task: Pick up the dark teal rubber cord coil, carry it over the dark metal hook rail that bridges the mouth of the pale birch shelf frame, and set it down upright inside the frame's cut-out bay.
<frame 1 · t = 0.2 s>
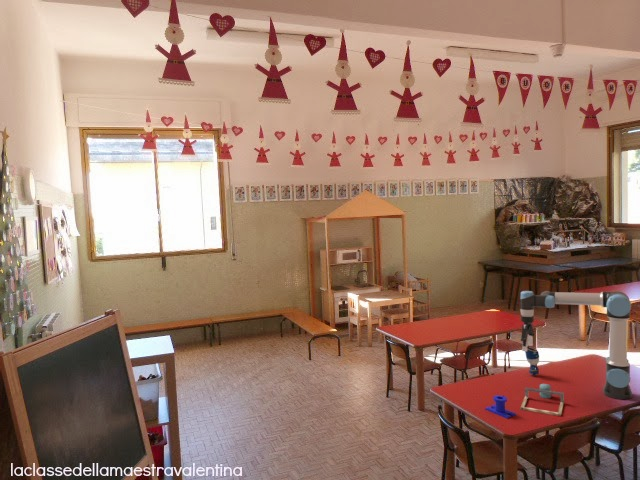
hand: (527, 348, 303), 27 cm above the table, fingers open, 13 cm apart
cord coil: (545, 396, 293), on the table
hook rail: (544, 400, 287), on the table
figurine: (532, 375, 330), on the table
shelf frame: (542, 406, 279), on the table
mount: (500, 413, 273), on the table
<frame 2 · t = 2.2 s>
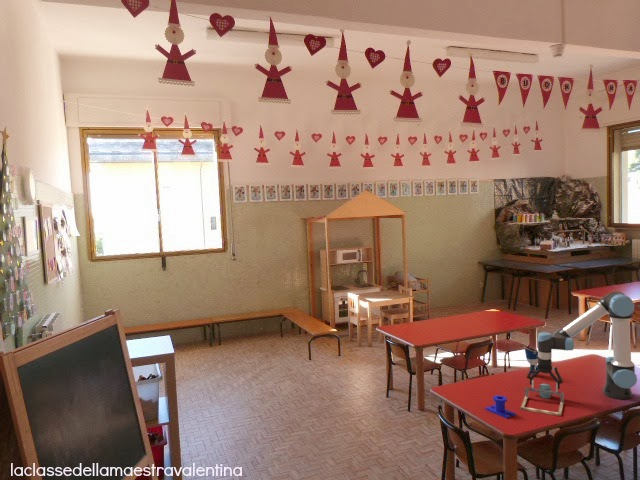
hand: (544, 391, 293), 3 cm above the table, fingers open, 13 cm apart
nothing on the table moved.
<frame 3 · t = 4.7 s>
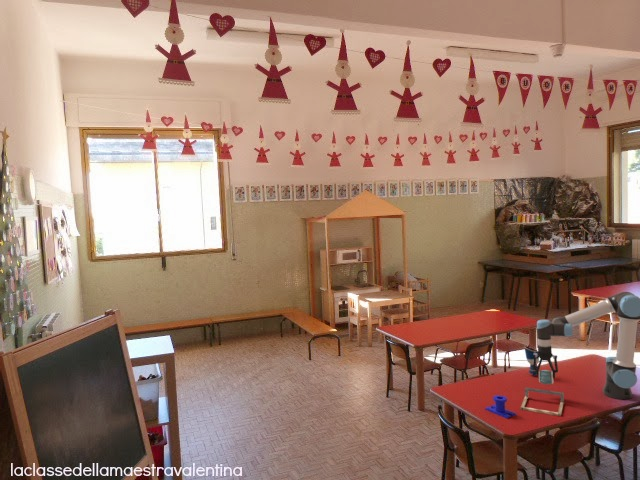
hand: (546, 382, 292), 9 cm above the table, fingers closed on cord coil, 6 cm apart
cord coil: (546, 382, 292), point 9 cm above the table, touching gripper
everything else where it was.
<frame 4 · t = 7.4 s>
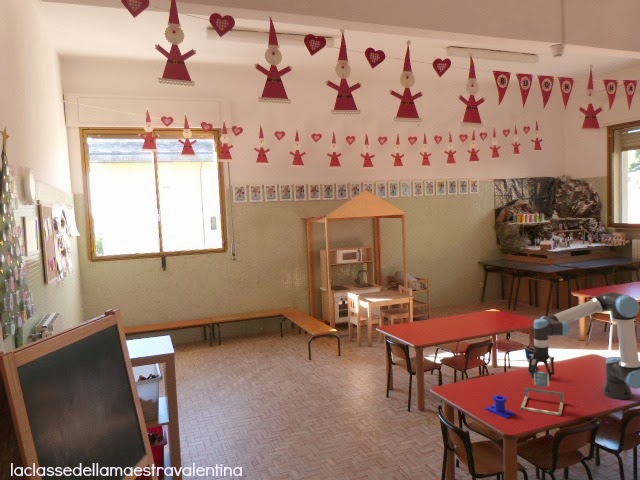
hand: (541, 384, 277), 13 cm above the table, fingers closed on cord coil, 6 cm apart
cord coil: (541, 385, 277), point 13 cm above the table, touching gripper
everything else where it was.
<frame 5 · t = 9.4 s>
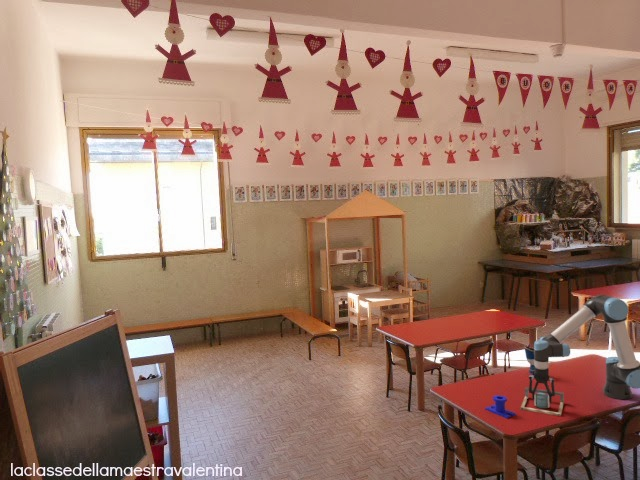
hand: (542, 405, 278), 1 cm above the table, fingers closed on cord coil, 6 cm apart
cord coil: (542, 406, 278), on the table, touching gripper
everything else where it was.
when the fingers open (0 cm above the table, at t = 10.4 s): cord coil stays where it is, on the table.
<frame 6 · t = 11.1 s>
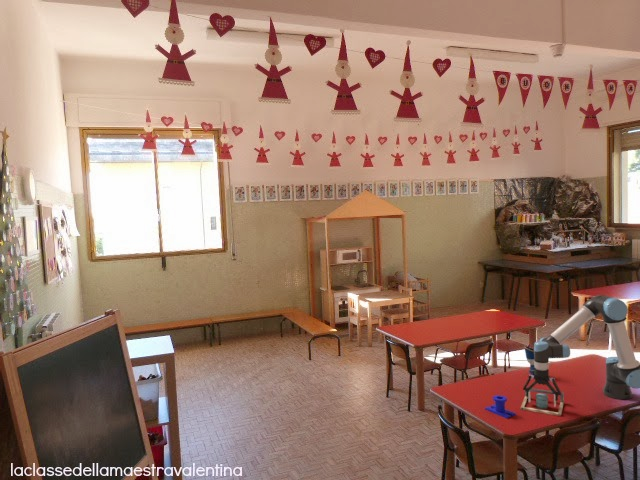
hand: (542, 404, 278), 2 cm above the table, fingers open, 13 cm apart
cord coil: (542, 406, 278), on the table
everything else where it was.
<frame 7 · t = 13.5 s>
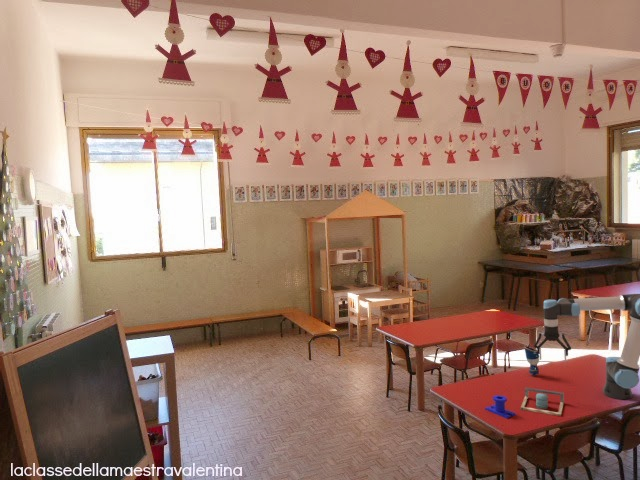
hand: (552, 360, 288), 24 cm above the table, fingers open, 13 cm apart
nothing on the table moved.
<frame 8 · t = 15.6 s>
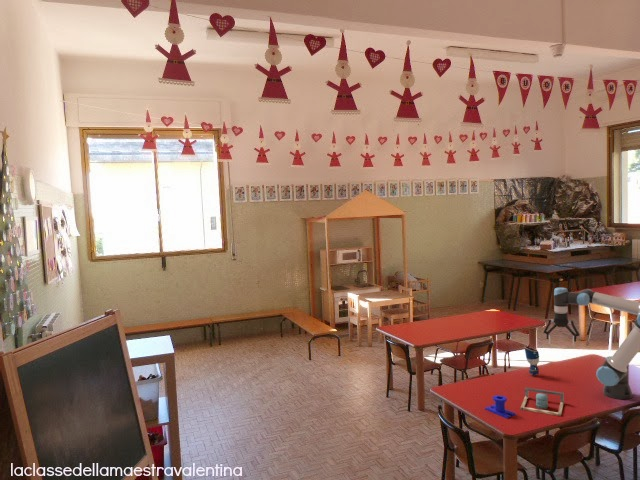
hand: (561, 345, 300), 29 cm above the table, fingers open, 13 cm apart
nothing on the table moved.
at the end: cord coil inside the target area (0.3 cm from its centre), on the table; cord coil tilted 0°; the gripper is holding nothing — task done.
